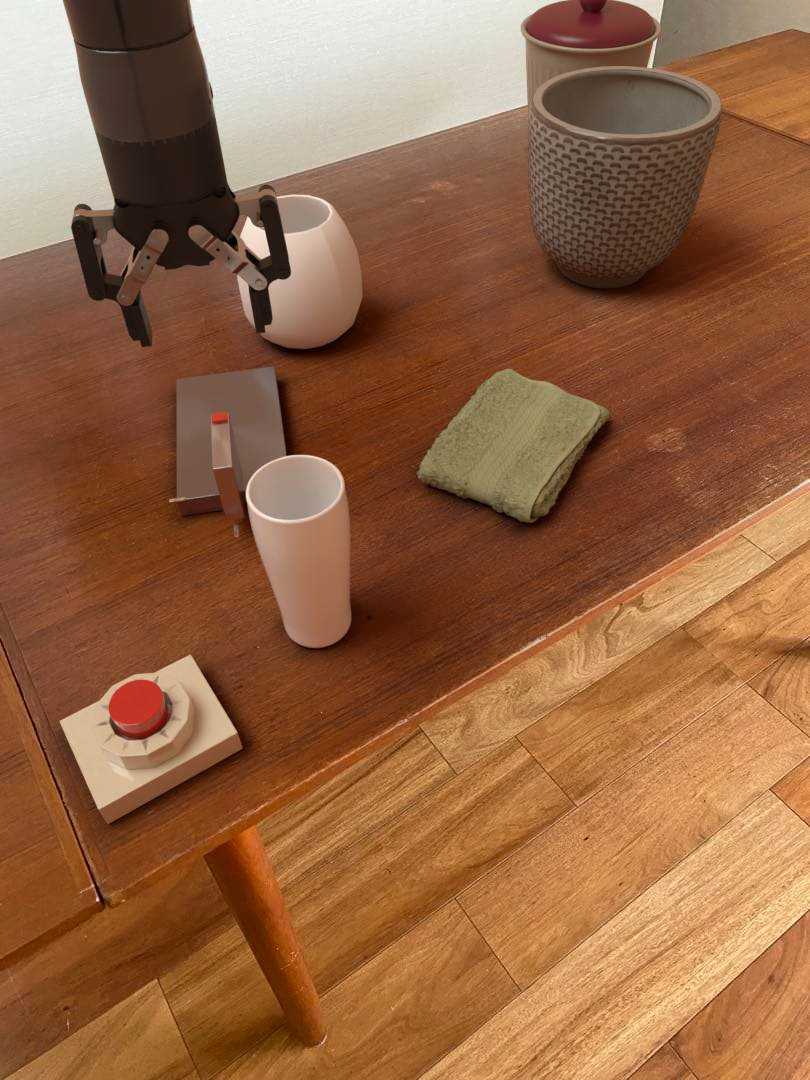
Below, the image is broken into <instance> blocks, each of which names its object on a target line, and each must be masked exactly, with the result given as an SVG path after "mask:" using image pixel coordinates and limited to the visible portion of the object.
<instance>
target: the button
mask: <svg viewBox="0 0 810 1080" xmlns="http://www.w3.org/2000/svg"><path fill="white" fill-rule="evenodd" d="M109 714H110V716H111V718H112V720H113V722H114V724H115V726H116V728H117V729H118V731H119V732H120V733H121V734H122V735H124V736H125V737H128V738H132V739H140V738H145V737H148V736H150V735H153V734H154V733H156V732H157V731H158V730H159V729H161V727H162V726H163V725H164V724H165V722H166V720H167V718H168V714H169V707H168V704H167V702H166V699H165V697H164V695H163V693H162V690H161V688H160V687H159V686H158V685H157V684H156V683H154V682H152V681H149V680H134V681H131V682H128V683H126V684H124V685H122V686H121V687H120V688H119V689H117V690H116V691H115V693H114V694H113V695H112V697H111V699H110V702H109Z"/></svg>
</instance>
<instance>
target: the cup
mask: <svg viewBox="0 0 810 1080" xmlns="http://www.w3.org/2000/svg"><path fill="white" fill-rule="evenodd" d="M276 197H277V202H278V207H279V212H280V217H281V222H282V226H283V231H284V236H285V241H286V246H287V251H288V256H289V263H290V268H291V275H290V277H289V278H287V279H285V280H280V279H277V280H275V281H273V282H272V283H271V284H270V285H269V287H268V290H269V296H270V303H271V309H272V317H273V319H272V323H271V325H265V332H266V333H259V334H258V335H260V336H261V337H262V338H263V339H265V340H267V341H269V342H270V343H273V344H275V345H278V346H281V347H284V348H286V349H296V350H307V349H313V348H314V349H315V348H321V347H323V346H326V345H327V344H330V343H332V342H334V341H336V340H337V339H339V338H340V337H341V336H342V335H343V334H344V333H346V332H347V331H348V330H349V329H350V328H351V327H353V325H354V323H355V321H356V317H357V315H358V312H359V310H360V306H361V303H362V300H363V296H364V295H363V294H364V293H363V275H362V269H361V264H360V259H359V253H358V250H357V246H356V245H355V242H354V239H353V236H352V235H351V233H350V231H349V229H348V227H347V225H346V223H345V221H344V219H342V217H341V216H340V214H339V213H338V212H337V210H336V209H335V207H334V206H333V204H331V203H329V202H328V201H327V200H325V199H324V198H321V197H317V196H312V195H310V194H287V195H280V196H276ZM239 237H240V238H241V239H242V240H243V241H244V243H245V244H246V246H247V247H248V248H249V249H250V250H251V251H252V252H254V253H255V254H256V255H257V256H258V257H259V258H260V259H263V258H265V257H267V256H270V252H269V247H268V243H267V238H266V234H265V229H264V227H256V226H254V225H253V224H252V222H251V220H250V218H249V217H248V216H246V220H245V222H244V225H243V227H242V230H241V232H240V235H239ZM236 278H237V284H238V289H239V295H240V299H241V305H242V308H243V312H244V316H245V318H246V319H247V320H248V322H249V323H250V325H251V327H252V328H253V329H254V330H255V331H256V329H255V323H254V317H253V312H252V306H251V301H250V295H249V287H248V283H247V282H245V281H244V280H243V279H242V278H241V277H240V276H239V275H237V274H236Z"/></svg>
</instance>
